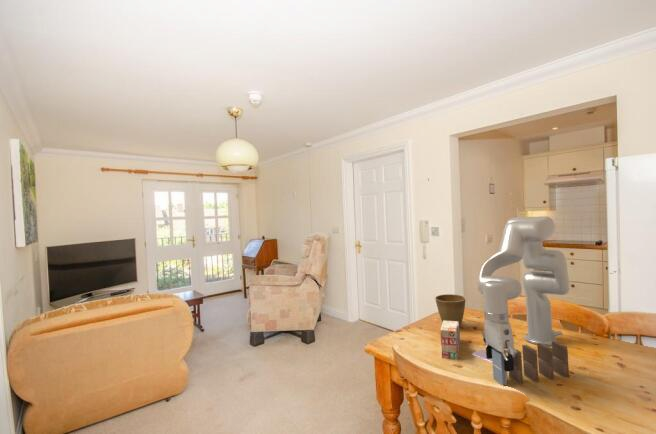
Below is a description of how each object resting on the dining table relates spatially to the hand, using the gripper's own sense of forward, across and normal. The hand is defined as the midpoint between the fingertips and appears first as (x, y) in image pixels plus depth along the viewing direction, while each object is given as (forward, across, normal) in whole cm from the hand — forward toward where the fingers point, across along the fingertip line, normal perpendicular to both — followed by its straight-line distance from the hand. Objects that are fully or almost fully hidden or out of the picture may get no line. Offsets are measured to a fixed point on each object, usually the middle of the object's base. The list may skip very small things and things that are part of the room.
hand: (499, 364), depth 113 cm
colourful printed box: (+7, +30, +2) cm, 31 cm away
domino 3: (+6, 0, -12) cm, 13 cm away
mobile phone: (+7, +17, -9) cm, 21 cm away
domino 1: (+6, 0, 0) cm, 6 cm away
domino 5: (+7, 0, -24) cm, 25 cm away
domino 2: (+6, 0, -6) cm, 9 cm away
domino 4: (+6, 0, -18) cm, 19 cm away
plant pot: (+7, +54, -11) cm, 55 cm away
